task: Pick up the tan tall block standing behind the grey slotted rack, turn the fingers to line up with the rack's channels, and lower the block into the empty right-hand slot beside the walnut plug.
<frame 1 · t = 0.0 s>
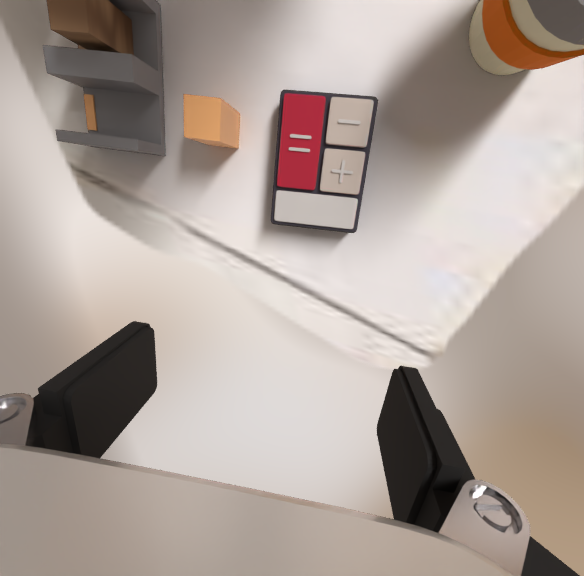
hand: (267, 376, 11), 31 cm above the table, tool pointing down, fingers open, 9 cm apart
grey slotted rack: (125, 82, 36), on the table
walnut plug: (116, 39, 34), point 1 cm above the table, touching grey slotted rack
reusable coffee cup: (513, 25, 30), on the table
tan tall block: (224, 129, 37), on the table
calculator: (321, 167, 38), on the table
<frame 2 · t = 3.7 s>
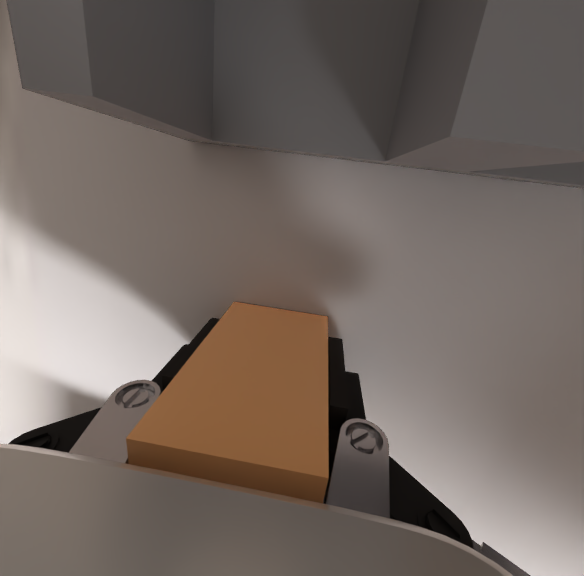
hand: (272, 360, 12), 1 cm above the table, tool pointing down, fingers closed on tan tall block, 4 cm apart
tan tall block: (275, 349, 13), on the table, touching gripper
when the fingers open (4 cm above the table, at t = 8.9 s): tan tall block drops 2 cm, resting on grey slotted rack.
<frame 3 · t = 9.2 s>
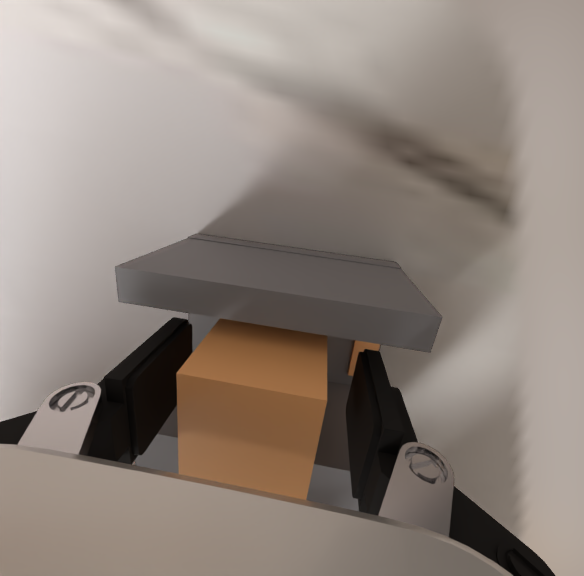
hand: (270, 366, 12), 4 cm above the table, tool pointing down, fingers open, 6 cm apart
grey slotted rack: (277, 379, 17), on the table
tan tall block: (281, 327, 15), point 1 cm above the table, touching grey slotted rack
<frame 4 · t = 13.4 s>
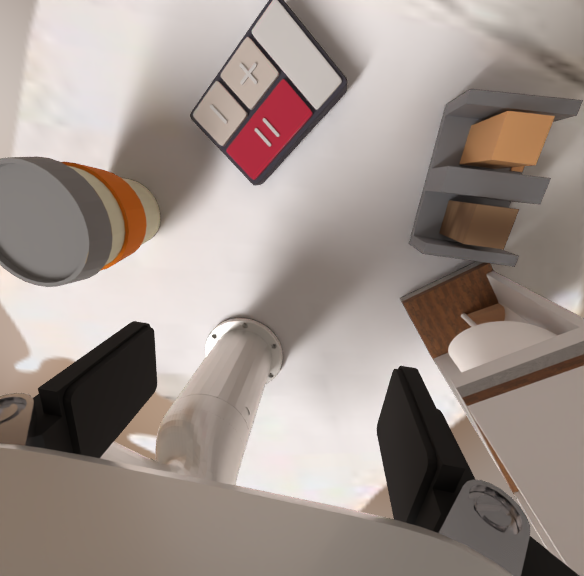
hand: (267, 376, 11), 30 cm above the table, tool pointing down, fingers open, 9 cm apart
grey slotted rack: (467, 184, 35), on the table
walnut plug: (460, 219, 35), point 1 cm above the table, touching grey slotted rack
reusable coffee cup: (131, 212, 41), on the table
banded white column: (453, 309, 41), on the table
tan tall block: (483, 147, 33), point 1 cm above the table, touching grey slotted rack
calculator: (270, 107, 35), on the table
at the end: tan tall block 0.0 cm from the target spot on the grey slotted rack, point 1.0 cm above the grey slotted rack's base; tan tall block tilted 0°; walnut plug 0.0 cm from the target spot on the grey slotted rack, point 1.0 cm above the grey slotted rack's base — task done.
